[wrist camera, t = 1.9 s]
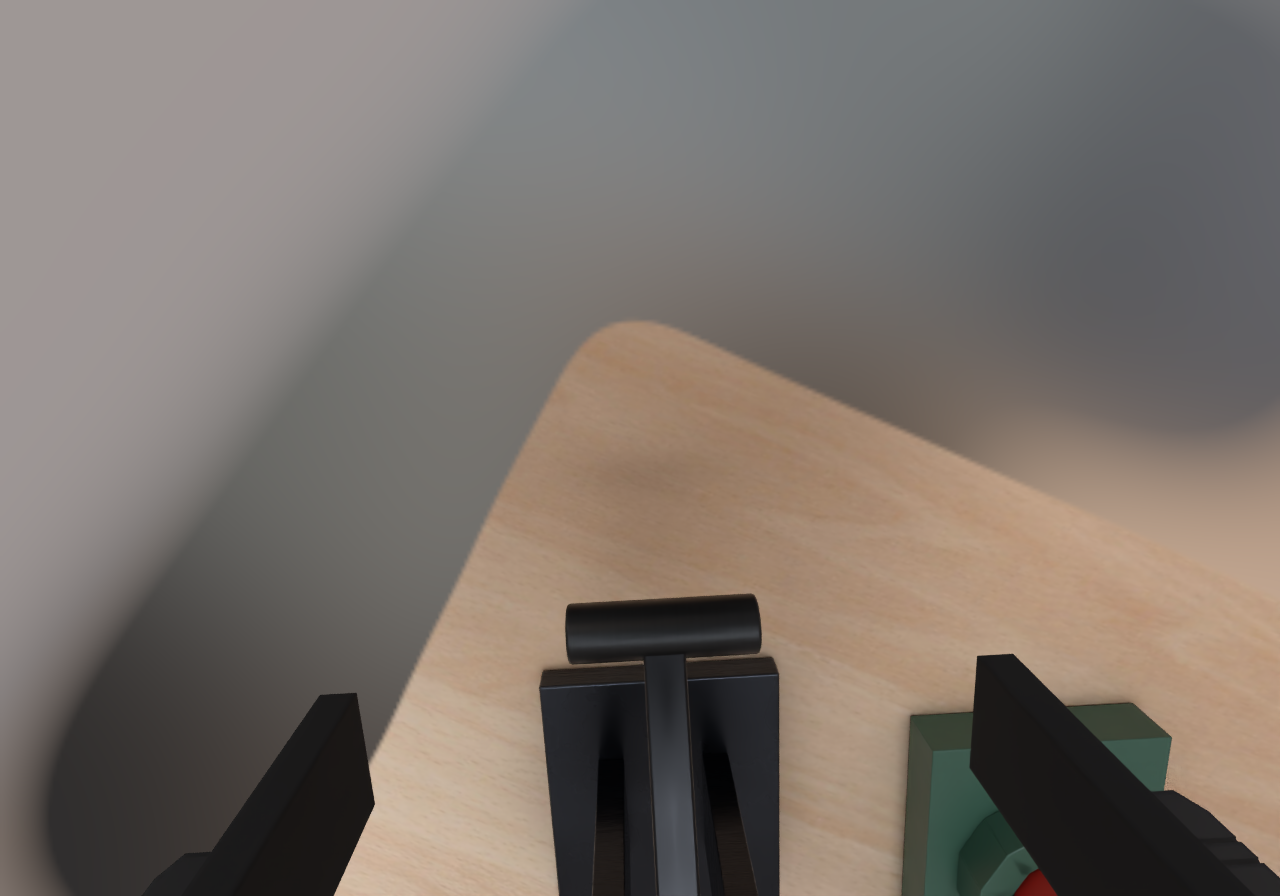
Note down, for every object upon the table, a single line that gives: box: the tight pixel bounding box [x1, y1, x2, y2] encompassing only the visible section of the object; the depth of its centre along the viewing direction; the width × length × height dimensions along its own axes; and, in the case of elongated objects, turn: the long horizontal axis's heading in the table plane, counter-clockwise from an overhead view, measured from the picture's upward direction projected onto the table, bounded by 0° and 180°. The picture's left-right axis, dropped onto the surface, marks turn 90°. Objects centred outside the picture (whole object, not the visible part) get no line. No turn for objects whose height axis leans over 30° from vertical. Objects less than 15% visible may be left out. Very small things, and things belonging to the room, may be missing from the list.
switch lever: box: [565, 594, 762, 896], centre depth 19 cm, size 14×5×2 cm, turn 3°
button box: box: [902, 703, 1172, 896], centre depth 29 cm, size 11×9×4 cm
